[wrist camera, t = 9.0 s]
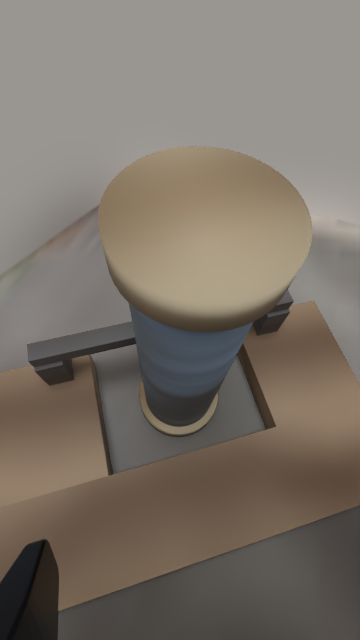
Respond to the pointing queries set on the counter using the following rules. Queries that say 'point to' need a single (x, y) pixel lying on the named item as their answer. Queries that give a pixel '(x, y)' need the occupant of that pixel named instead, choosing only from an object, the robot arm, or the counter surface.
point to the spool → (198, 268)
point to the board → (174, 459)
